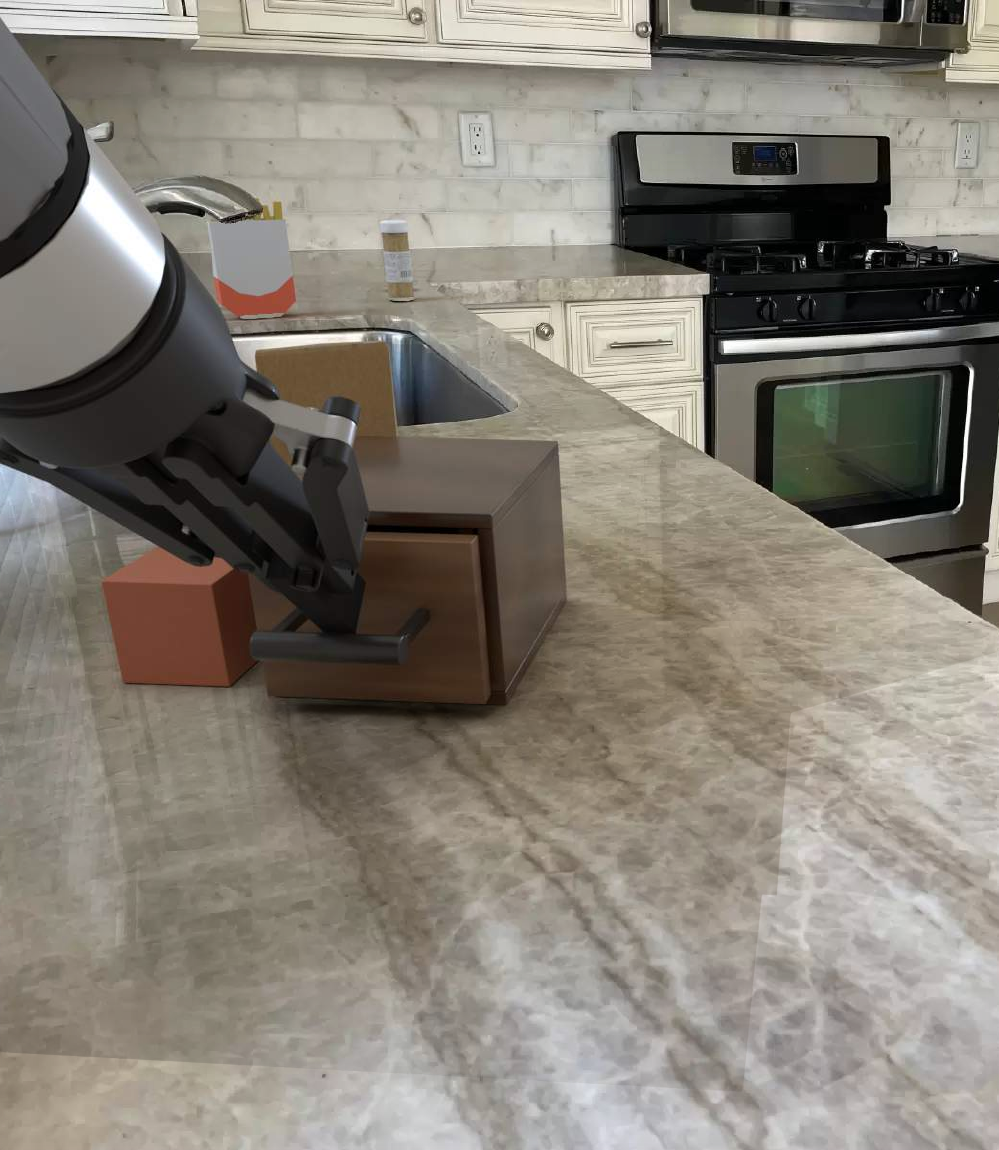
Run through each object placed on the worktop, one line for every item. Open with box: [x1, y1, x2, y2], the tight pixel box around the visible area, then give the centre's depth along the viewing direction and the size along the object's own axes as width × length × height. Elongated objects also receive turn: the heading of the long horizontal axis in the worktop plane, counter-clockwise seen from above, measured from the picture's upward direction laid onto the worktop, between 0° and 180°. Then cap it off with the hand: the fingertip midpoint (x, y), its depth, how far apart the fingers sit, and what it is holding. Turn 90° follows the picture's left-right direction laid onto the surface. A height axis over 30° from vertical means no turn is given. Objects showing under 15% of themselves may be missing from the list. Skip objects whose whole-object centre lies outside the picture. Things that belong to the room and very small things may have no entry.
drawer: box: [248, 525, 491, 705], centre depth 61 cm, size 18×11×9 cm, turn 177°
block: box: [101, 546, 259, 688], centre depth 64 cm, size 6×6×6 cm
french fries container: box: [206, 197, 297, 317], centre depth 178 cm, size 5×11×18 cm, turn 123°
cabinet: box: [296, 436, 568, 706], centre depth 66 cm, size 15×13×11 cm
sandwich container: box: [254, 340, 399, 474], centre depth 85 cm, size 9×15×15 cm, turn 26°
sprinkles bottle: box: [379, 219, 415, 298], centre depth 198 cm, size 5×5×14 cm
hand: (345, 607), depth 55 cm, fingers closed
